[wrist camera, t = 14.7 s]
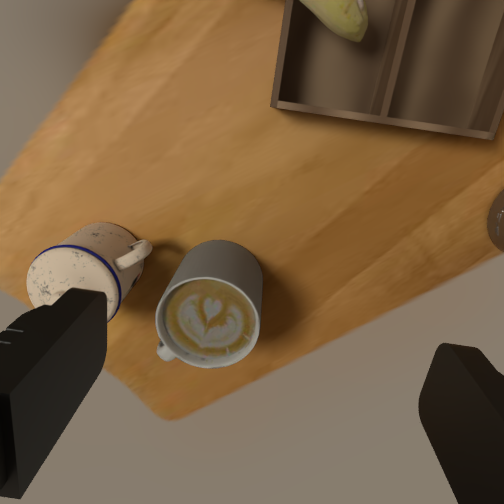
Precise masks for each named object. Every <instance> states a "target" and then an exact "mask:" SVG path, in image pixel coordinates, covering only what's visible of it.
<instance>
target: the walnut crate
mask: <svg viewBox="0 0 504 504" xmlns="http://www.w3.org/2000/svg"><path fill="white" fill-rule="evenodd" d="M365 4H366V8H367V15H368V27H367V30H366V31H365V34H364V36H363V38H362V40H361V41H360V42H354V41H351V40H349V39H346V38H343V37H341V36H339V35H337V34H335V33H334V32H332V31H331V30H330V29H329V28H328V27H326V26H325V25H324V24H323V23H322V22H321V21H320V20H319V19H318V17H317V16H316V15H315V14H314V13H313V12H312V11H311V10H310V9H308V8H307V7H306V6H305V5H304V4H303V3H302V2H301V1H299V0H286V2H285V8H284V15H283V22H282V29H281V36H280V43H279V49H278V56H277V63H276V70H275V77H274V84H273V90H272V97H271V104H270V107H274V108H281V109H288V110H294V111H301V112H308V113H314V114H321V115H328V116H334V117H341V118H348V119H355V120H361V121H368V122H375V123H381V124H388V125H395V126H401V127H408V128H415V129H422V130H428V131H435V132H442V133H448V134H455V135H462V136H468V137H475V138H482V139H489V140H494V137H495V134H496V131H497V128H498V125H499V122H500V119H501V117H502V114H503V111H504V0H365Z"/></svg>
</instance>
